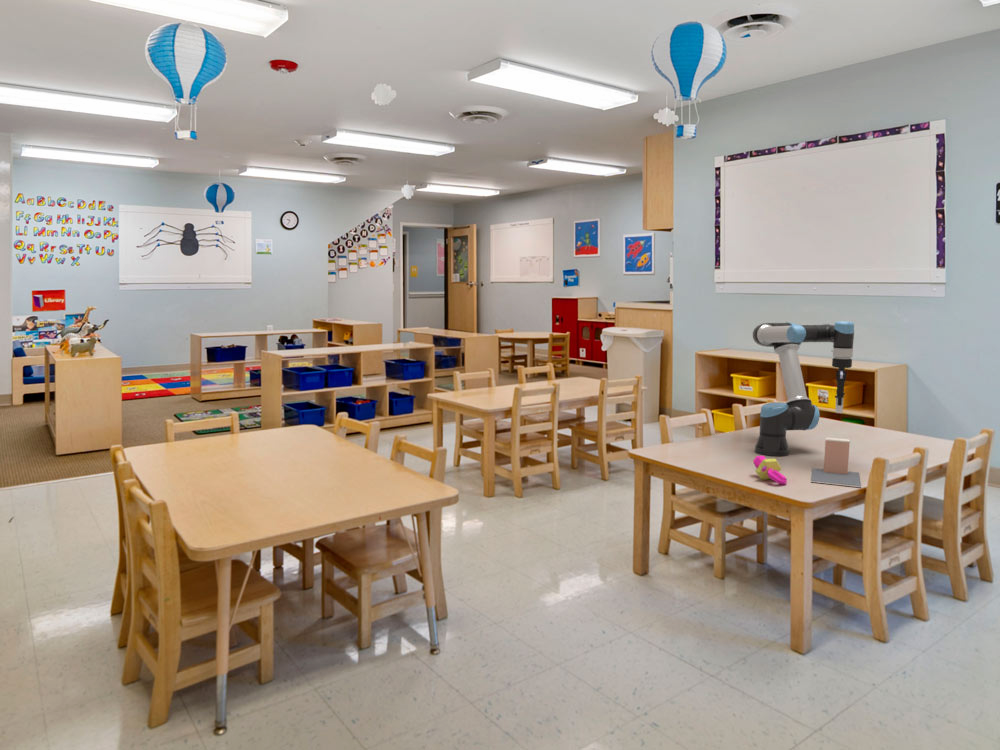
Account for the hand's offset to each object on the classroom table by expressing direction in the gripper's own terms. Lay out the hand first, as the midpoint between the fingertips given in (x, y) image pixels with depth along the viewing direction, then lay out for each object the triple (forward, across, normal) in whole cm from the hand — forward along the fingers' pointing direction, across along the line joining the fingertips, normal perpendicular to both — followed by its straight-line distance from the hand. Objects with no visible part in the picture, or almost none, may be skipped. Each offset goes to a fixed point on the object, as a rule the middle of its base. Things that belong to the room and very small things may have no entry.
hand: (838, 411), depth 299 cm
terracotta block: (+24, +10, 0) cm, 26 cm away
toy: (+25, +32, -25) cm, 47 cm away
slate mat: (+25, +18, 0) cm, 31 cm away
